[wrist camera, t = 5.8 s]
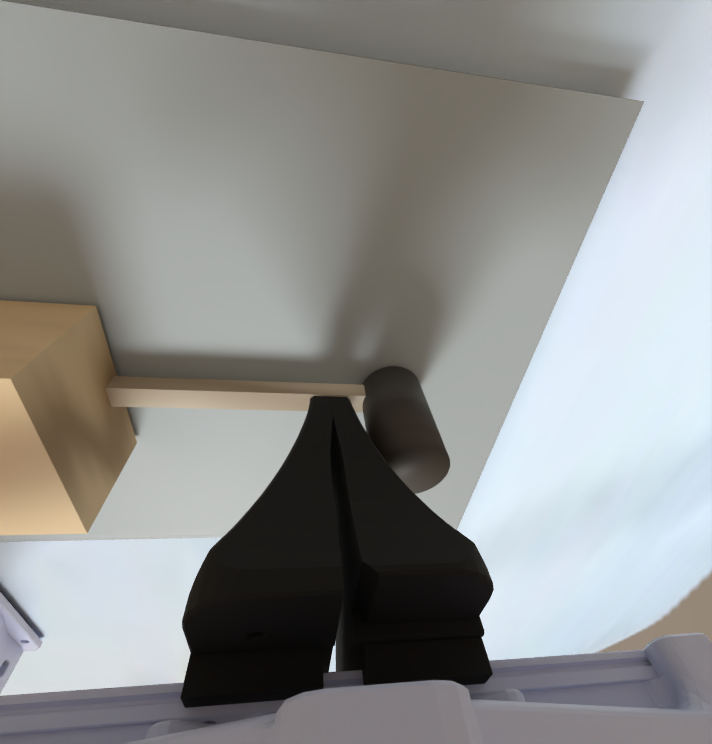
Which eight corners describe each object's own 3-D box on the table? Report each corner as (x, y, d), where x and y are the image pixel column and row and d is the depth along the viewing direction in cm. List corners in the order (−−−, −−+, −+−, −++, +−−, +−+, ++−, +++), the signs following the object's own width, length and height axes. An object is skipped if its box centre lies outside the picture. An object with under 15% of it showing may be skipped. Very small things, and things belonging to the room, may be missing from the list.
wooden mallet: (405, 446, 17) (428, 527, 13) (-31, 440, 14) (-136, 538, 11) (436, 325, 13) (477, 393, 10) (-126, 292, 11) (-318, 368, 8)
